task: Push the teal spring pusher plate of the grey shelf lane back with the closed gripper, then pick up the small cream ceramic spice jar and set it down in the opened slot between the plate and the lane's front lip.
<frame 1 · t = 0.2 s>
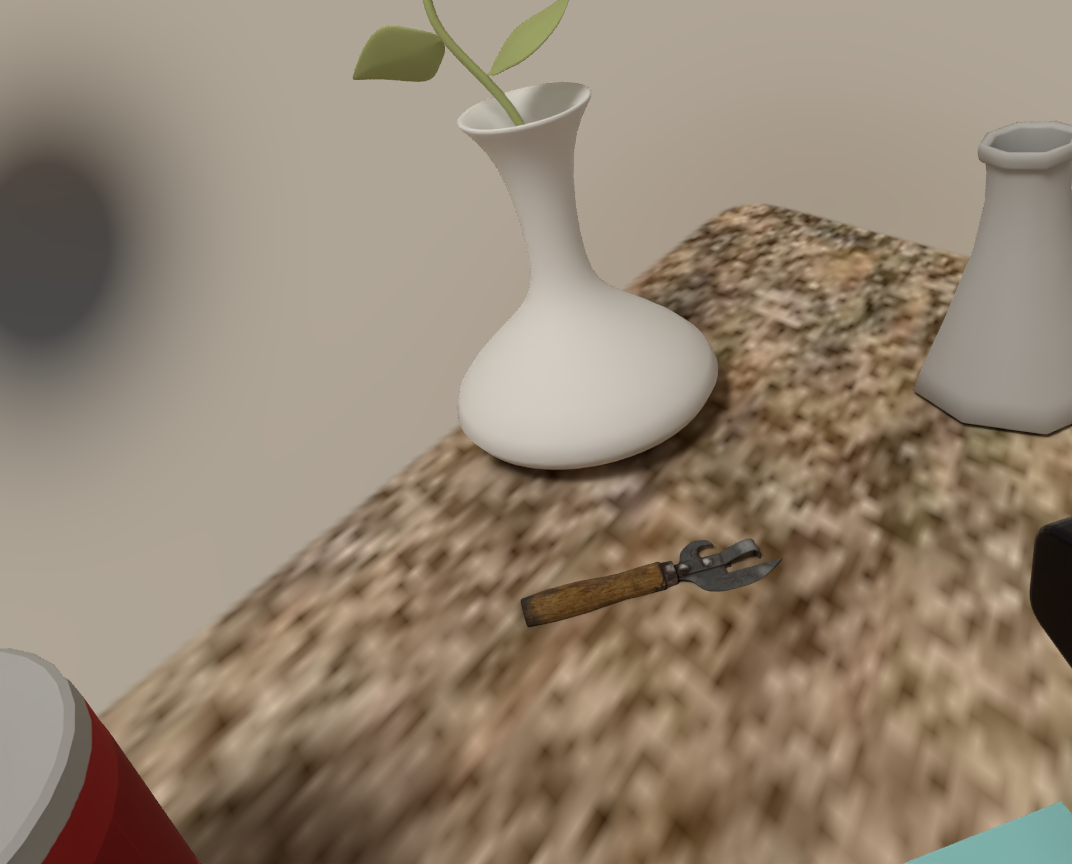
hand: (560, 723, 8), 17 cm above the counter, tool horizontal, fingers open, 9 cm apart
flower in vase: (576, 416, 44), on the counter
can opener: (650, 600, 34), on the counter
flask: (1014, 388, 39), on the counter
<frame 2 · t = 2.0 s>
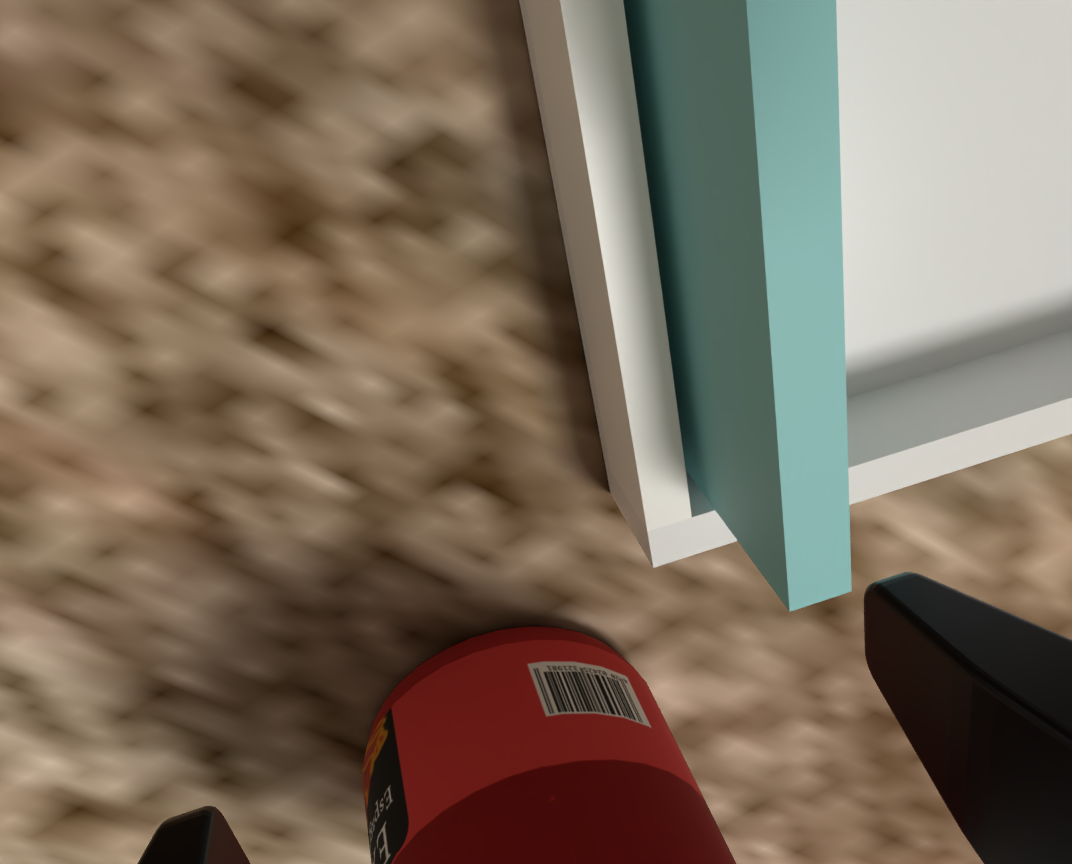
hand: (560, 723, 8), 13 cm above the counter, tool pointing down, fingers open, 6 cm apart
lane: (872, 109, 20), on the counter
pusher: (722, 224, 17), point 4 cm above the counter, slide at 0.0 cm
canned food: (505, 722, 27), on the counter
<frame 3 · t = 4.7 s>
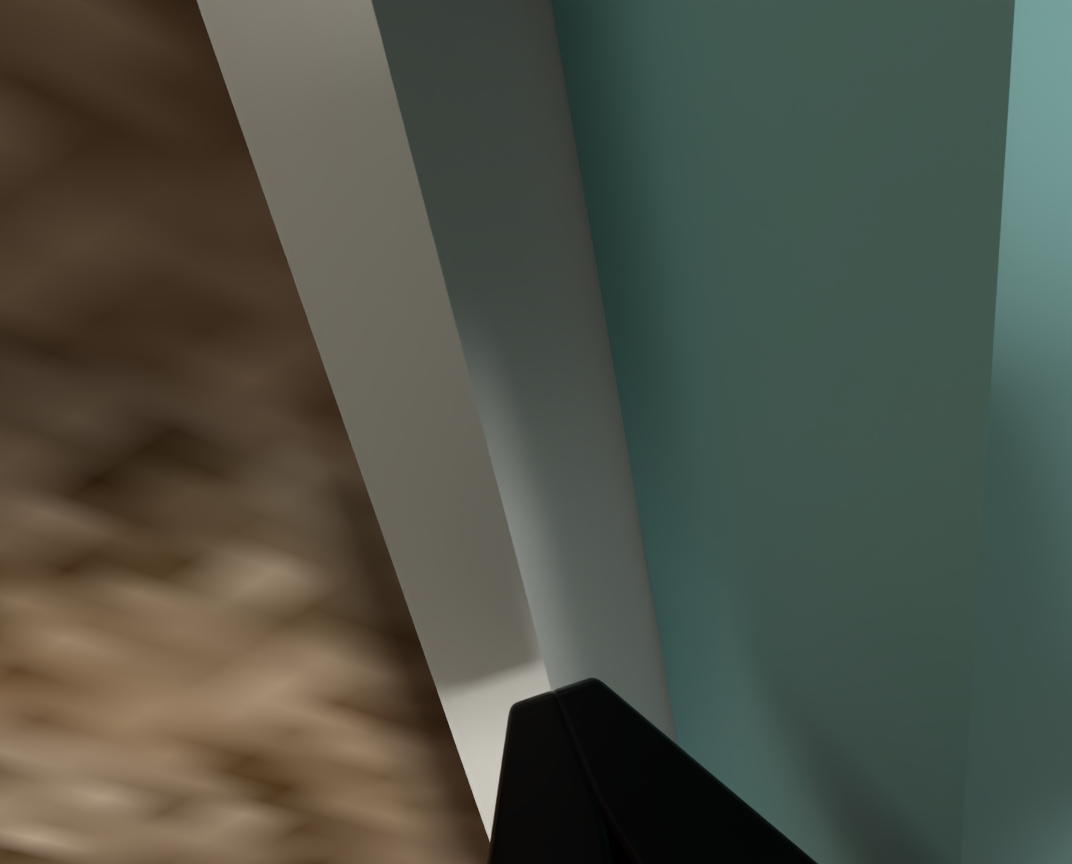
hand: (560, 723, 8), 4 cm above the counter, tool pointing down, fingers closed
lane: (938, 340, 12), on the counter
pusher: (807, 624, 9), point 4 cm above the counter, slide at 1.3 cm, touching gripper
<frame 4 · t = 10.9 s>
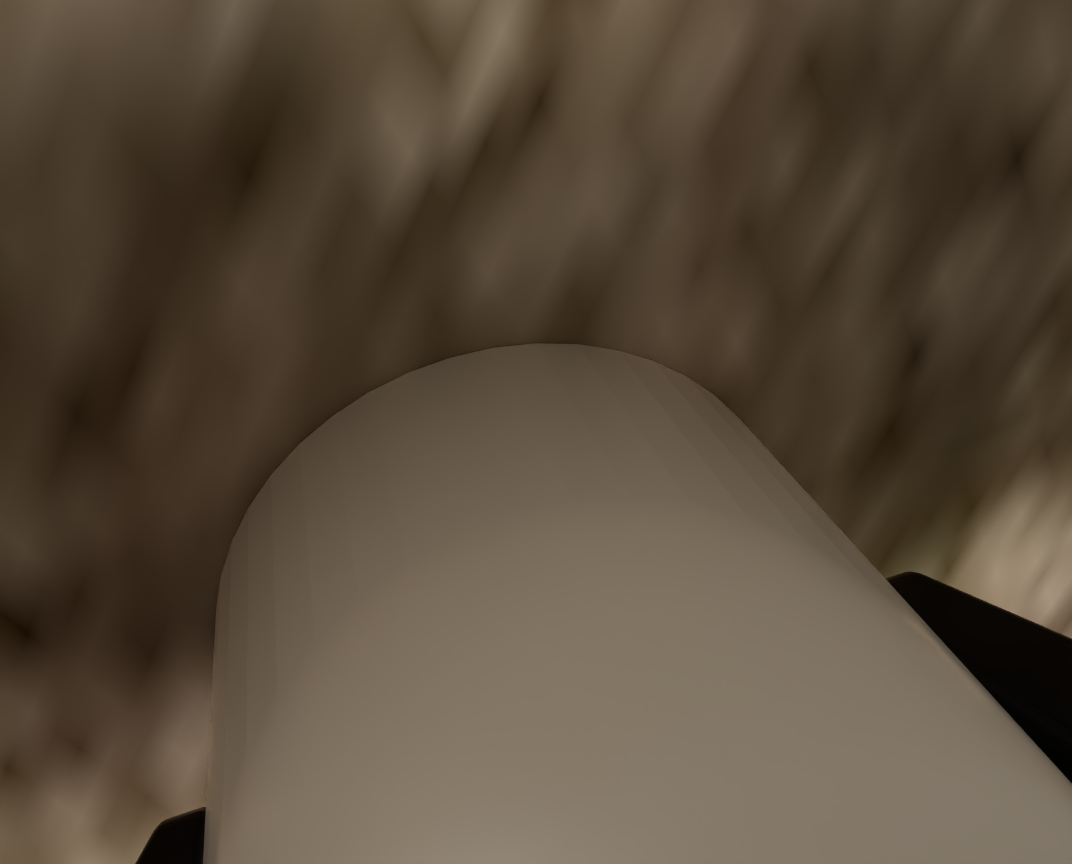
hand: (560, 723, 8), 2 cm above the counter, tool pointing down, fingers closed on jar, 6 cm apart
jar: (518, 608, 10), on the counter, touching gripper
when the fingers open (3 cm above the counter, at t = 15.5 s): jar drops 1 cm, resting on lane.
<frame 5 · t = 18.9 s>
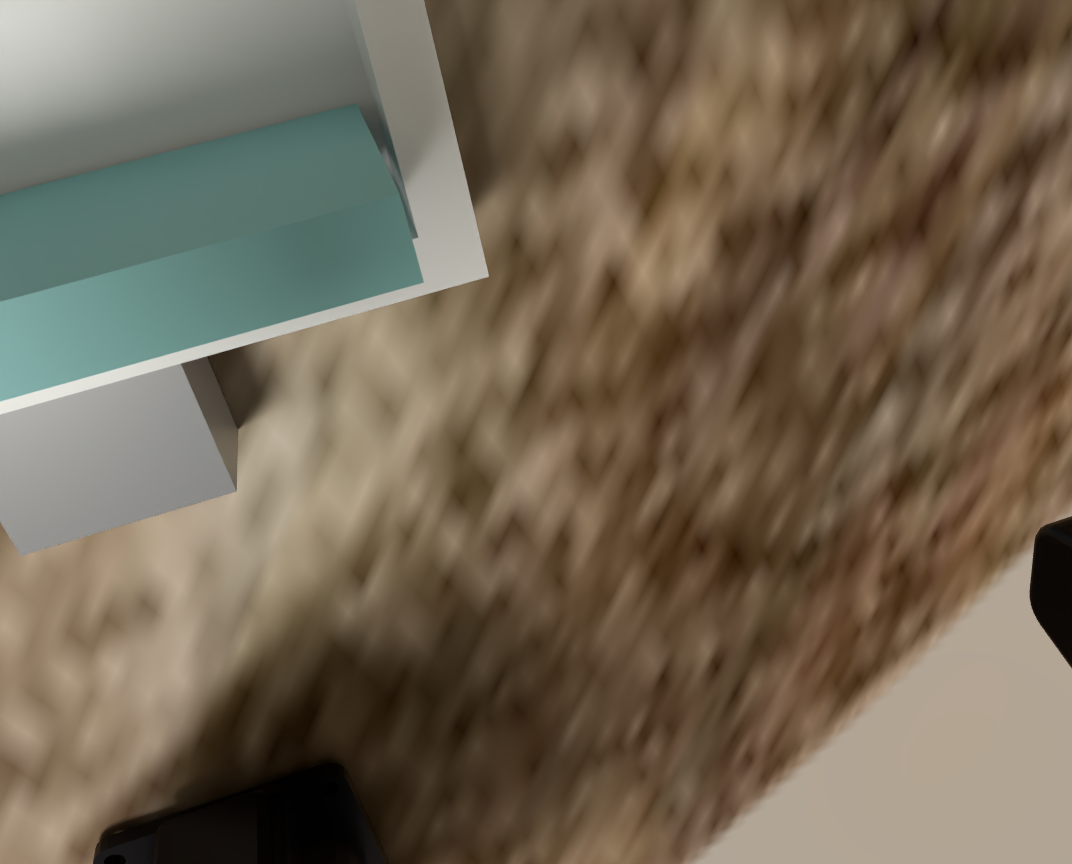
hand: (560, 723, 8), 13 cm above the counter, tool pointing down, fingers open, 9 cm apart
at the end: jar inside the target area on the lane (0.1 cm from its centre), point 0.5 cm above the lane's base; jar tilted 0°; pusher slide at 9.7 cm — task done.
